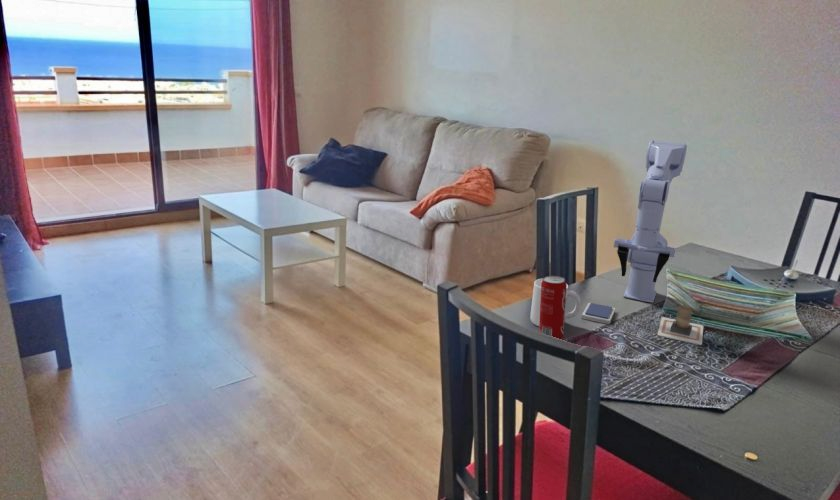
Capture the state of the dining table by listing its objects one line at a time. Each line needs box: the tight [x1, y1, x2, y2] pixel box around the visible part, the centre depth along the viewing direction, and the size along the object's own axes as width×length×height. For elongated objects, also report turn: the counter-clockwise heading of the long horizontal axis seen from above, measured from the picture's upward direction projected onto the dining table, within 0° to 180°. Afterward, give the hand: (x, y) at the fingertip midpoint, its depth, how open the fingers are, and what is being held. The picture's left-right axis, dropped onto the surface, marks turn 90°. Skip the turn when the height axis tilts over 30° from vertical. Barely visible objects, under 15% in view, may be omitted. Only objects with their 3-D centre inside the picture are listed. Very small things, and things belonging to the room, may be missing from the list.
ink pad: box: [581, 302, 616, 325], centre depth 158 cm, size 9×7×1 cm
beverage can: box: [538, 275, 568, 340], centre depth 142 cm, size 6×6×15 cm
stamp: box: [670, 304, 693, 336], centre depth 150 cm, size 4×4×6 cm
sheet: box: [656, 316, 704, 346], centre depth 151 cm, size 12×10×1 cm
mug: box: [529, 277, 582, 327], centre depth 151 cm, size 12×8×10 cm
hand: (638, 278), depth 156 cm, fingers open, 7 cm apart
